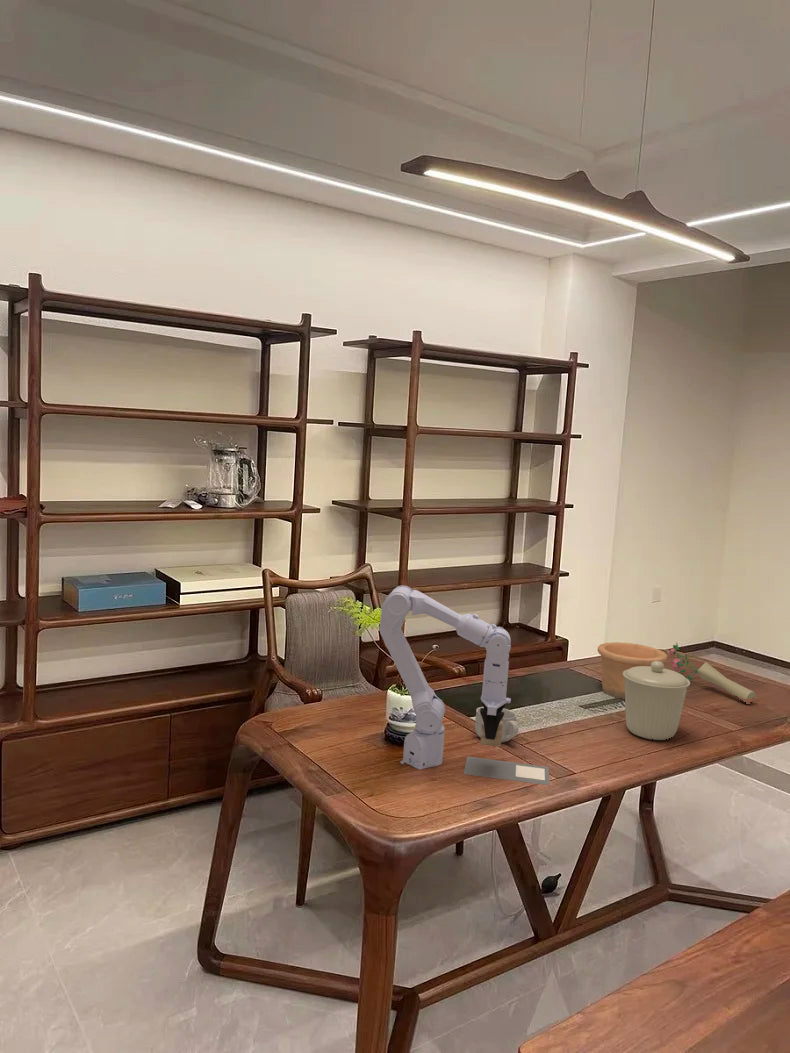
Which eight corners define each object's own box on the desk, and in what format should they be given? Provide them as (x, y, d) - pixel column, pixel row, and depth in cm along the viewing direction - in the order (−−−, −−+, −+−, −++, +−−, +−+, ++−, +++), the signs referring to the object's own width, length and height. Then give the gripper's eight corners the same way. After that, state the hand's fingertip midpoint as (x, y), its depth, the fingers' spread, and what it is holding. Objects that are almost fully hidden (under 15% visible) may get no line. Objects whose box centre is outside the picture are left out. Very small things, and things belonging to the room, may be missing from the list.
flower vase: (735, 726, 262) (652, 674, 290) (759, 712, 267) (676, 661, 295) (739, 697, 257) (654, 646, 284) (764, 683, 262) (679, 635, 290)
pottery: (615, 704, 252) (619, 660, 251) (582, 683, 274) (586, 641, 272) (676, 703, 257) (680, 659, 256) (640, 682, 279) (644, 642, 277)
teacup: (467, 734, 218) (469, 705, 217) (502, 731, 222) (504, 703, 221) (491, 754, 205) (493, 724, 204) (528, 751, 209) (530, 721, 208)
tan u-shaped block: (500, 747, 190) (502, 722, 189) (480, 744, 191) (482, 719, 190) (501, 740, 195) (503, 716, 194) (481, 737, 196) (483, 713, 195)
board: (463, 777, 189) (463, 773, 189) (466, 760, 200) (467, 755, 200) (549, 789, 186) (549, 784, 186) (548, 770, 197) (549, 766, 197)
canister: (648, 749, 216) (656, 672, 213) (604, 725, 232) (610, 654, 230) (698, 742, 223) (706, 668, 221) (652, 720, 240) (659, 651, 237)
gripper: (511, 690, 183) (506, 747, 185) (513, 673, 198) (508, 726, 199) (480, 686, 185) (475, 744, 186) (484, 669, 199) (479, 723, 200)
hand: (490, 734), depth 193 cm, fingers closed on tan u-shaped block, 5 cm apart
